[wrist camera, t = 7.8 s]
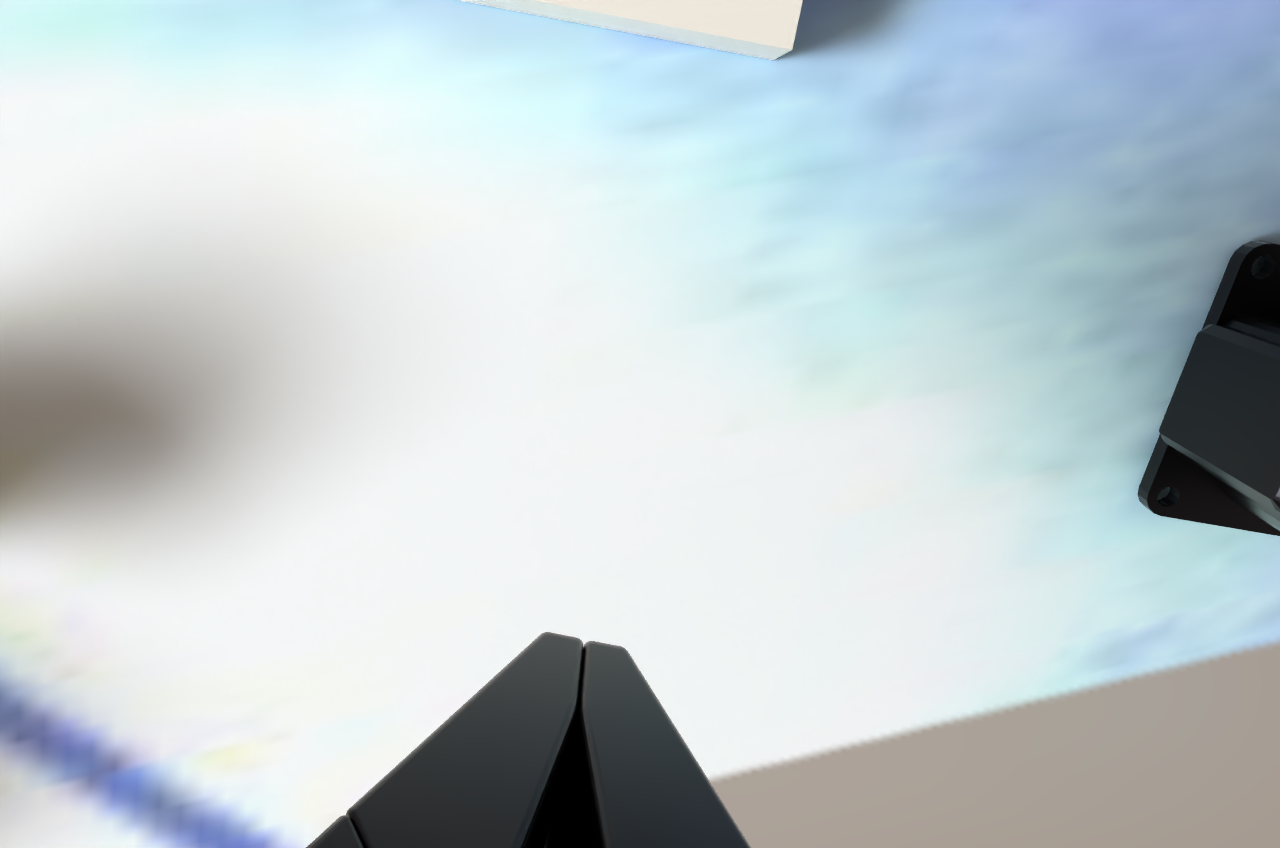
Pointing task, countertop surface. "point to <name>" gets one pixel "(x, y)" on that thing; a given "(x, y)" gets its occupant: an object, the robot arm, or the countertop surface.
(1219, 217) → the countertop surface
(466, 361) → the countertop surface
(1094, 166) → the countertop surface
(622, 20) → the switch panel
